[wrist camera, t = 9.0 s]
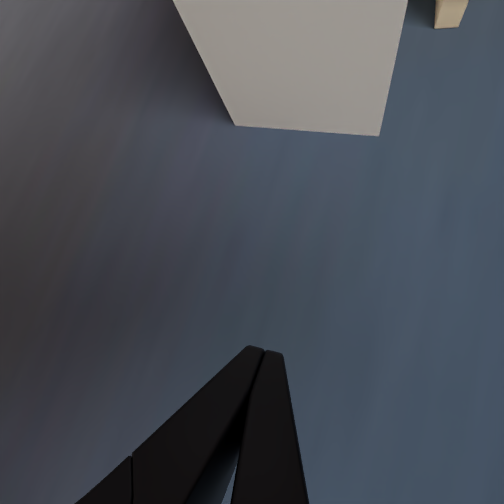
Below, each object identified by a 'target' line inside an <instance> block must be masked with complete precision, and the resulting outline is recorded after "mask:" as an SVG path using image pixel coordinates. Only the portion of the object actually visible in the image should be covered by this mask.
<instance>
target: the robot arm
mask: <svg viewBox="0 0 504 504" xmlns="http://www.w3.org/2000/svg"><path fill="white" fill-rule="evenodd" d="M236 464H237V468H236V474H235V480H234V486H233V492H232V498H231V503H230V504H309V500H308V494H307V488H306V483H305V477H304V471H303V465H302V460H301V454H300V448H299V443H298V437H297V431H296V425H295V420H294V414H293V408H292V403H291V397H290V391H289V385H288V380H287V374H286V368H285V363H284V357H283V355H282V354H281V353H278V352H274V351H270V350H266V351H264V349H262V348H259V347H255V346H251V345H249V346H246V347H245V348H244V349H243V350H242V351H241V352H240V353H239V354H238V355H236V356H235V357H234V358H233V359H232V360H231V361H230V362H229V363H228V364H227V365H226V366H225V367H224V368H223V369H221V370H220V371H219V372H218V373H217V374H216V375H215V376H214V377H213V378H212V379H211V380H210V381H209V382H208V383H206V384H205V385H204V386H203V387H202V388H201V389H200V390H199V391H198V392H197V393H196V394H195V395H194V396H193V397H191V398H190V399H189V400H188V401H187V402H186V403H185V404H184V405H183V406H182V407H181V408H180V409H179V410H178V411H176V412H175V413H174V414H173V415H172V416H171V417H170V418H169V419H168V420H167V421H166V422H165V423H164V424H163V425H161V426H160V427H159V428H158V429H157V430H156V431H155V432H154V433H153V434H152V435H151V436H150V437H149V438H148V439H146V440H145V441H144V442H143V443H142V444H141V445H140V446H139V447H138V448H137V449H136V450H135V451H134V452H133V453H132V457H131V456H128V457H127V458H126V459H125V460H124V461H123V462H122V463H121V464H119V465H118V466H117V467H116V468H115V469H114V470H113V471H112V472H111V473H110V474H109V475H107V476H106V477H105V478H104V479H103V480H102V481H101V482H100V483H98V484H97V485H96V486H95V487H94V488H93V489H92V490H91V491H89V492H88V493H87V494H86V495H85V496H84V497H82V498H81V499H80V500H79V501H77V502H76V503H75V504H221V503H222V500H223V498H224V495H225V493H226V490H227V487H228V485H229V482H230V480H231V477H232V475H233V472H234V469H235V467H236Z"/></svg>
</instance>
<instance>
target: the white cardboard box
mask: <svg viewBox="0 0 504 504" xmlns="http://www.w3.org/2000/svg"><path fill="white" fill-rule="evenodd" d="M173 2H174V4H175V6H176V8H177V10H178V12H179V14H180V16H181V18H182V20H183V22H184V24H185V26H186V28H187V30H188V32H189V34H190V36H191V38H192V40H193V42H194V44H195V46H196V48H197V50H198V52H199V54H200V56H201V58H202V60H203V62H204V64H205V66H206V68H207V70H208V72H209V74H210V76H211V78H212V80H213V82H214V84H215V86H216V88H217V90H218V92H219V94H220V96H221V98H222V100H223V102H224V104H225V106H226V108H227V110H228V112H229V114H230V116H231V118H232V120H233V122H234V124H235V125H236V126H250V127H263V128H276V129H289V130H302V131H315V132H329V133H342V134H355V135H368V136H379V133H380V128H381V124H382V119H383V114H384V110H385V105H386V101H387V96H388V91H389V87H390V82H391V77H392V73H393V68H394V63H395V59H396V54H397V49H398V45H399V40H400V35H401V31H402V26H403V21H404V17H405V12H406V7H407V3H408V0H173Z"/></svg>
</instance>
